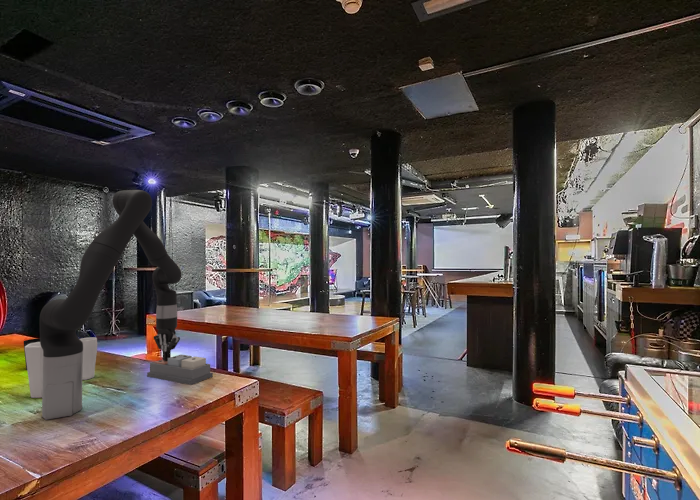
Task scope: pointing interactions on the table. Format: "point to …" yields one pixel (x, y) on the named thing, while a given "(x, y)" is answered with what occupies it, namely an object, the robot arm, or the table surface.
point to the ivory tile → (193, 362)
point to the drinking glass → (89, 357)
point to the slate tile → (177, 360)
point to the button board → (179, 373)
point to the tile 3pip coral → (161, 362)
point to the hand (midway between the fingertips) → (166, 360)
